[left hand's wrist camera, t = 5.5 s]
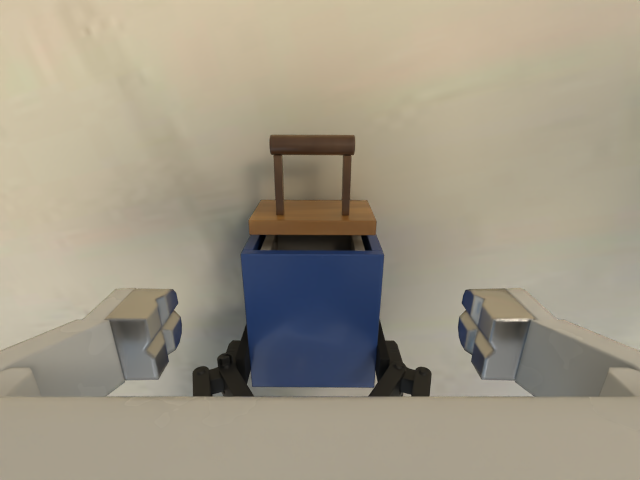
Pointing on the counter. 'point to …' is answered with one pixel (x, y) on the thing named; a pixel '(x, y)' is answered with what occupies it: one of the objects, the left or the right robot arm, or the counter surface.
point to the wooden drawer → (312, 203)
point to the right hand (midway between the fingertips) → (313, 324)
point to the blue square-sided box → (312, 314)
